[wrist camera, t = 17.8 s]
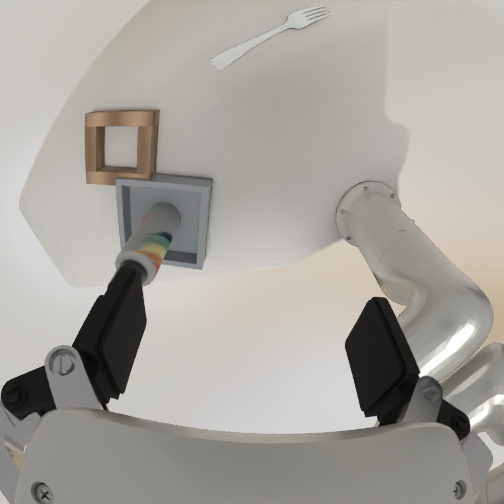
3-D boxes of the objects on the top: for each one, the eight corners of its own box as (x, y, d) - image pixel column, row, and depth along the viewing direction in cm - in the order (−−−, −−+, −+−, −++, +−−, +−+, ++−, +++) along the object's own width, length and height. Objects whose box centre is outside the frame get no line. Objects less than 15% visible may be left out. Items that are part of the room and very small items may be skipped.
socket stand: (159, 110, 36) (153, 112, 34) (155, 181, 43) (149, 188, 40) (94, 111, 35) (85, 113, 33) (94, 177, 42) (86, 183, 39)
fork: (210, 61, 34) (206, 60, 32) (326, 2, 26) (329, -2, 24) (220, 74, 36) (216, 74, 34) (336, 16, 28) (339, 12, 25)
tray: (212, 179, 43) (208, 187, 39) (205, 256, 51) (202, 269, 47) (126, 171, 41) (116, 178, 38) (129, 246, 49) (122, 258, 46)
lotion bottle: (147, 226, 46) (100, 304, 29) (152, 198, 43) (98, 269, 27) (177, 235, 47) (142, 318, 30) (184, 207, 44) (145, 284, 28)
